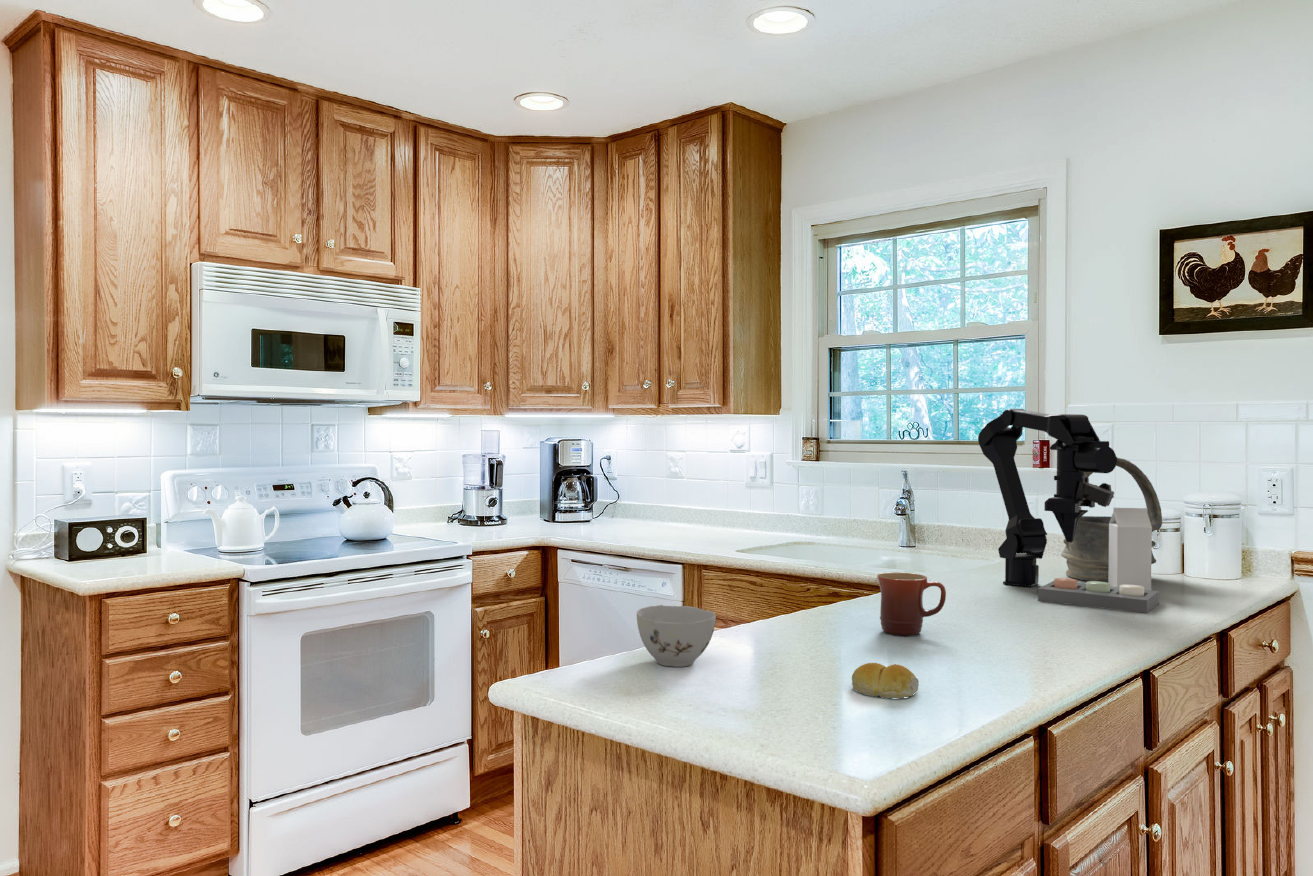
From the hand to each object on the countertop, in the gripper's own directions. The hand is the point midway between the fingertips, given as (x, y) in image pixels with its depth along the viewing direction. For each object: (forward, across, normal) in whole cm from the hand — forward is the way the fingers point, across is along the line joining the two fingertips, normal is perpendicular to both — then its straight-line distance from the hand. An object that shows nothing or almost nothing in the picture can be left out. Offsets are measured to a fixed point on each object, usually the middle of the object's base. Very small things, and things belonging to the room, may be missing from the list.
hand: (1069, 542), depth 203 cm
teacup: (+12, -99, +34) cm, 105 cm away
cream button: (+11, -3, -13) cm, 17 cm away
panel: (+12, -3, -6) cm, 14 cm away
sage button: (+11, -3, -7) cm, 13 cm away
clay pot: (+12, +33, -1) cm, 35 cm away
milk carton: (+12, +16, -9) cm, 22 cm away
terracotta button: (+11, -3, 0) cm, 11 cm away
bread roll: (+12, -94, +2) cm, 95 cm away
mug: (+12, -57, +13) cm, 60 cm away
